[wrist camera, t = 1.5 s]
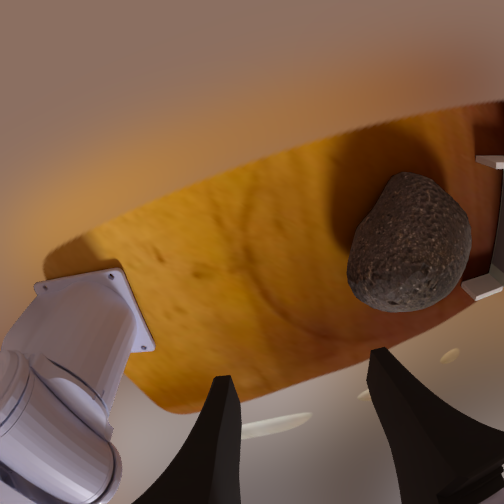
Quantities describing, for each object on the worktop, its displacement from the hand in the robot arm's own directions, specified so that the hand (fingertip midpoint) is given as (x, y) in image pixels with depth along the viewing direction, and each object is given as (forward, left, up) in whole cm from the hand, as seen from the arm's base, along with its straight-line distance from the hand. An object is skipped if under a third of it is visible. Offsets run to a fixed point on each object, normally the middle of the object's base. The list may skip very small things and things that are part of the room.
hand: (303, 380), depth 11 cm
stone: (+9, 0, -11) cm, 14 cm away
